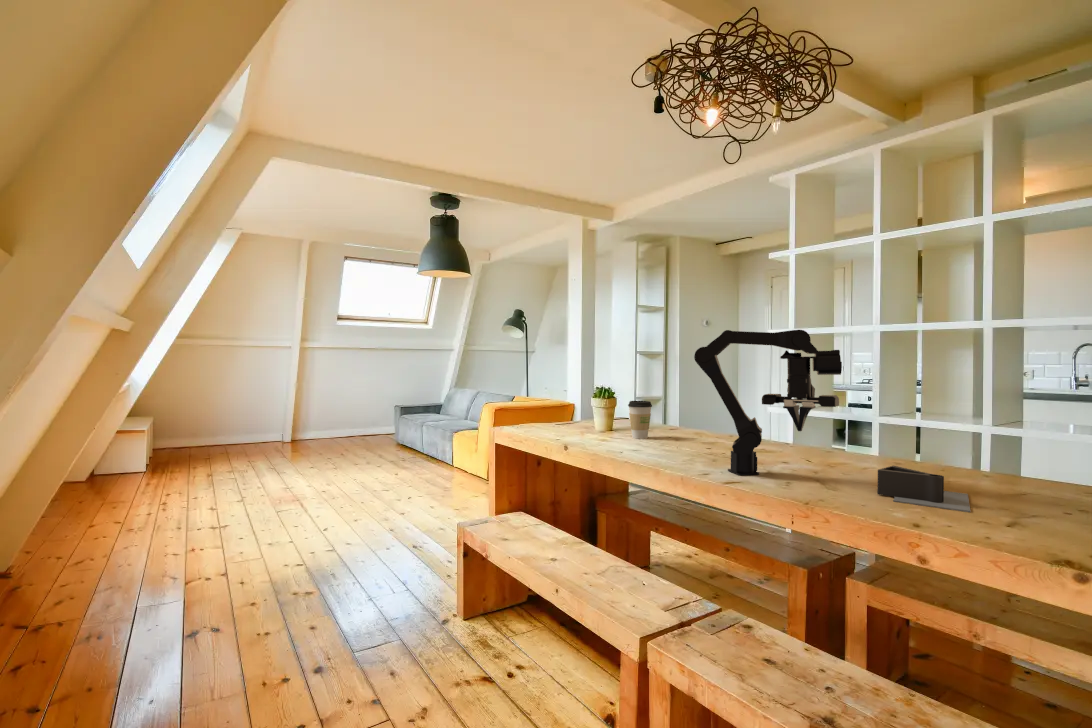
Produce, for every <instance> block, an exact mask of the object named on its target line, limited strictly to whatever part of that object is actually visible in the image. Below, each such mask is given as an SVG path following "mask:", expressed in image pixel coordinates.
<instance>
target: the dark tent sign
mask: <svg viewBox="0 0 1092 728" xmlns="http://www.w3.org/2000/svg"><path fill="white" fill-rule="evenodd" d="M944 486H945V477H944V475H940V474H935V473H928V472H925V471H919V470H916V469H912V468H907V467H903V466H897V465H891V466H890V465H889V466H886V467H882V468H880V469H877V489H876V491H877V495H878V496H886V497H887V496H888V497H901V498H909V499H916V500H924V501H930V502H934V503H942V502H944V491H945V487H944Z"/></svg>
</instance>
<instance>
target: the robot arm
mask: <svg viewBox="0 0 1092 728" xmlns="http://www.w3.org/2000/svg"><path fill="white" fill-rule="evenodd" d="M732 344H735V345H736V344H737V345H754V346H755V345H756V346H758V345H759V346H773V347H778V348H782V349H787V350H785V351H784V353H783V354H782V355H781V356H780V357H779V359H781V360H787V379H786V382H787V388H786V389H787V394H786V395H787V396H785V395H783V396H782V394H781V393H766V394H763V395H762V397H761V405H768V406H769V405H772V406H773V405H775V404H780V403H782V404H783V406H782V408H783V409H786V411H787V412H788V413H789V415H790V417H791V418H792V421H793V423H794V425H795V428H796V430H797V431H798V432H802V431H803V428H804V426H805V423H806V421H807V417H808V416H809V414H810V411H811V410H813V409H816V405H820V407H823V408H824V407H825V408H826V407H827V408H828V407H829V408H836V407H838V406H840V398H839V396H837V395H836V394H832V395H831V394H821V395H818V396H817V397H815V395H816V388H815V387H814V386H813V384H812V378H811V365H812V371H813V372H816V374H817V375H818V376H825V375H826V376H827V375H829V376H830V375H831V376H833V375H834V376H835V375H840V376H841V374H842V368H843V366H842V365H843V364H842V360H841V350H840V349H831V350H818V349H817V347H816V346H815V345H814V344H813V343H812V342H811V336H810V334H809V332H807V331H806V330H804V329H792V330H784V331H775V332H765V331H764V332H763V331H739V330H737V331H736V330H730V329H726V330H724V331H723V332H721V334H720V335H719V336H717V337H716V338H714V339H713V340H712V341H711V342H709V343H708V345H706V346H701V347H699V348H697V349H696V351H695V352H694V355H693V358H694V361H695V362H696V364H697V365H698V366H699V368H700V369H701V370H702V371H703V372H704V374H706V376H707V377H709V379H710V381H711V382H712V385H713V386H714V387H715V390H716V391H717V393H718V395H719V398H720V399H721V400H722V402H723V404H724V406H725V407H726V409H727V411H728V412H729V415H730V416H731V418H732V420H733V423H734V425H735V429H736V432H737V436H738V438H736V439H735V440H734V441H733V443H732V446H731V448H732V450H730V468H727V471H728V472H731V473H733V474H736V475H739V476H753V475H760V472H759V471H758V457H757V452H756V451H754V449H755V448H757V447H759V446H760V445H761V443H762V439H763V437H762V436H763V435H762V433H763V427H760V426H759V424H758V421H757V419H756V417H753V418H750V416H748V415H747V413H746V412H745V410H744V409H743V407H742V405H741V403H740V401H739V399H738V398H737V396H736V395H735V392H734V391H733V389H732V388H731V387H732V386H730V384H729V382H728V380H727V379H726V377H725V375H724V373H723V371H722V368H721V364H720V361H719V358H718V355H720V354H721V353H722V352H723V351H724V350H725V349H727V348H728V347H729V346H730V345H732ZM788 350H792V351H798V352H789V351H788ZM799 351H802V352H804V353H806V354H808V355H814V356H802V352H799ZM811 359H812V364H811ZM797 404H798V405H797ZM800 404H801V405H802V406H800Z"/></svg>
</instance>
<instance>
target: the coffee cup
mask: <svg viewBox="0 0 1092 728" xmlns="http://www.w3.org/2000/svg"><path fill="white" fill-rule="evenodd" d="M627 406H628V410H629V422H630V424H629V425H630V430H631V437H632V439H634V438H635V439H634V440H646V439H648V437H649V429H650V423H651V415H652V414H651V413H652V412H651V410H652V407H653V405H652V403H651V401H650V400H630V401H629V402H628V404H627Z"/></svg>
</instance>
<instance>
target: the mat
mask: <svg viewBox="0 0 1092 728" xmlns="http://www.w3.org/2000/svg"><path fill="white" fill-rule="evenodd" d="M893 502H895V503H902V504H908V503H909V505H915V506H917V505H918V506H923V507H930V508H938V509H944V510H950V511H958V512H965V513H966V512H967V513H971V506H970V500H969V494H968V493H963V492H956V491H947V490H944V502H942V503H934V502H930V501H924V500H916V499H909V498H901V497H894V498H893Z"/></svg>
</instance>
